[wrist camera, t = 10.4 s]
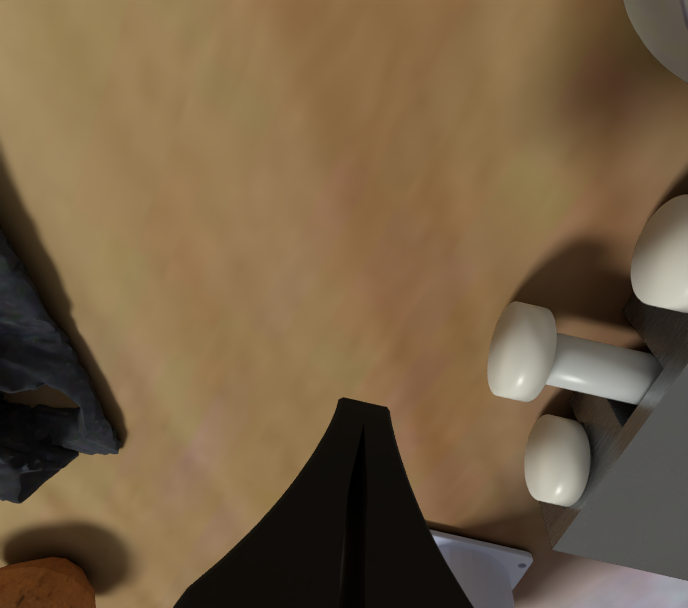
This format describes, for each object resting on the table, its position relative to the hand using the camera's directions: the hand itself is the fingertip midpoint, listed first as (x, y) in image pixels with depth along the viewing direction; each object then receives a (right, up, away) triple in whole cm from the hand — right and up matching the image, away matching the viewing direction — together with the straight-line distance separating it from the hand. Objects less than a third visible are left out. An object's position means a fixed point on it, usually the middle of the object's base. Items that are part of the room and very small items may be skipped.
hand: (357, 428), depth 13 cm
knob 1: (+13, -4, +11) cm, 18 cm away
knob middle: (+11, +2, +8) cm, 14 cm away
